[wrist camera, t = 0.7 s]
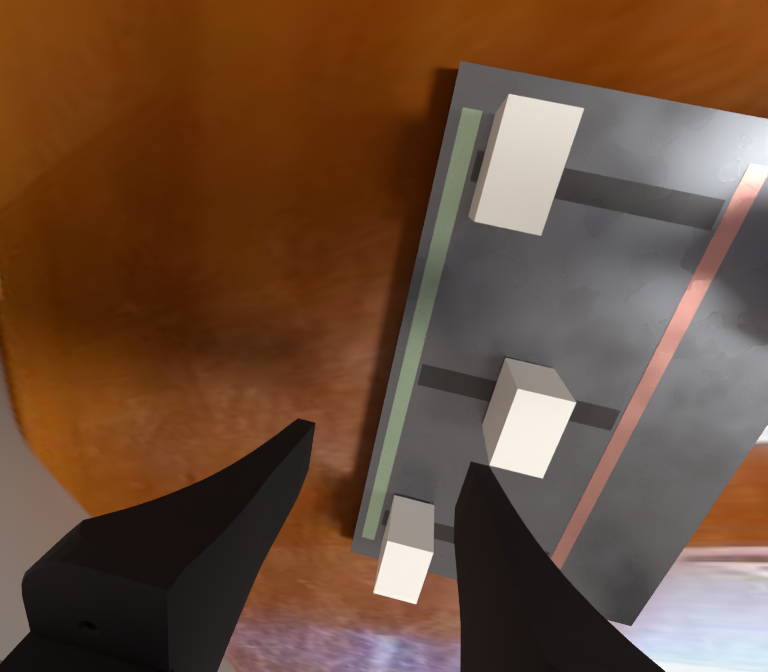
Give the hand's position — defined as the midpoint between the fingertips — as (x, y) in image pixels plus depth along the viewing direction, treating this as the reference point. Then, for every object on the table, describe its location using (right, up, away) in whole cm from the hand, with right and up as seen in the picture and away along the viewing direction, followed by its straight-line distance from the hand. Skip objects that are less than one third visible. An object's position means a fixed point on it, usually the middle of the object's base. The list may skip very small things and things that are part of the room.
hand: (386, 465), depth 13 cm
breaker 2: (+5, +11, +3) cm, 13 cm away
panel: (+9, +1, +7) cm, 12 cm away
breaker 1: (+1, -7, +10) cm, 13 cm away
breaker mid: (+7, +1, +7) cm, 9 cm away
